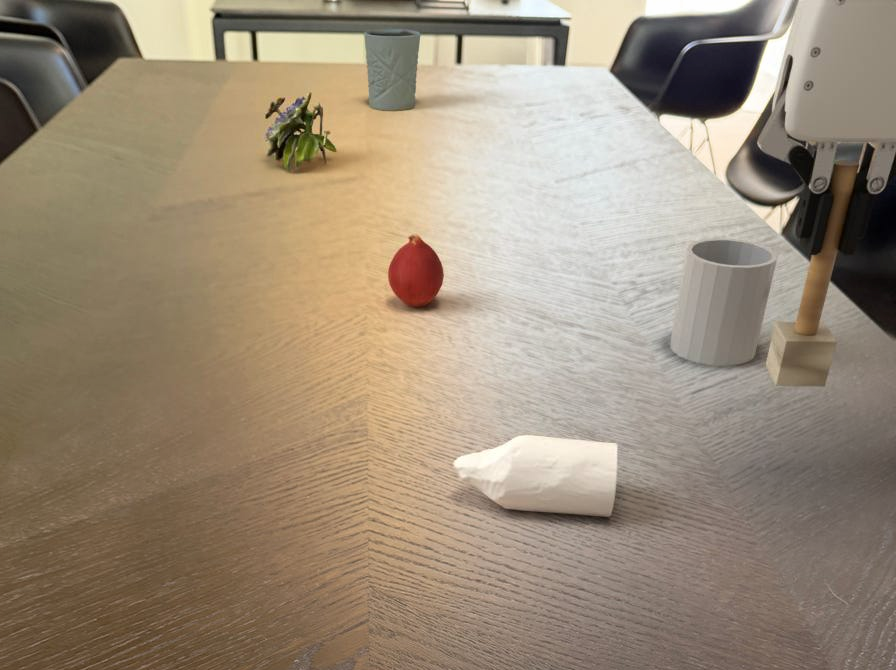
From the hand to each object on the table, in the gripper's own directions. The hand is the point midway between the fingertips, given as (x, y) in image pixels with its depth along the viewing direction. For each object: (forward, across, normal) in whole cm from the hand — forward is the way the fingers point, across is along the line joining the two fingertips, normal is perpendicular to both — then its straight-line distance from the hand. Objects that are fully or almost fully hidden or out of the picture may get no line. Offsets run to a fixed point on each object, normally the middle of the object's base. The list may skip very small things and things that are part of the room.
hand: (825, 247), depth 70 cm
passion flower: (+18, +52, -94) cm, 109 cm away
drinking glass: (+18, +41, -137) cm, 144 cm away
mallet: (+10, 0, 0) cm, 10 cm away
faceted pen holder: (+18, +1, -24) cm, 30 cm away
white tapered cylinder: (+18, +20, +6) cm, 27 cm away
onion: (+18, +31, -34) cm, 49 cm away
